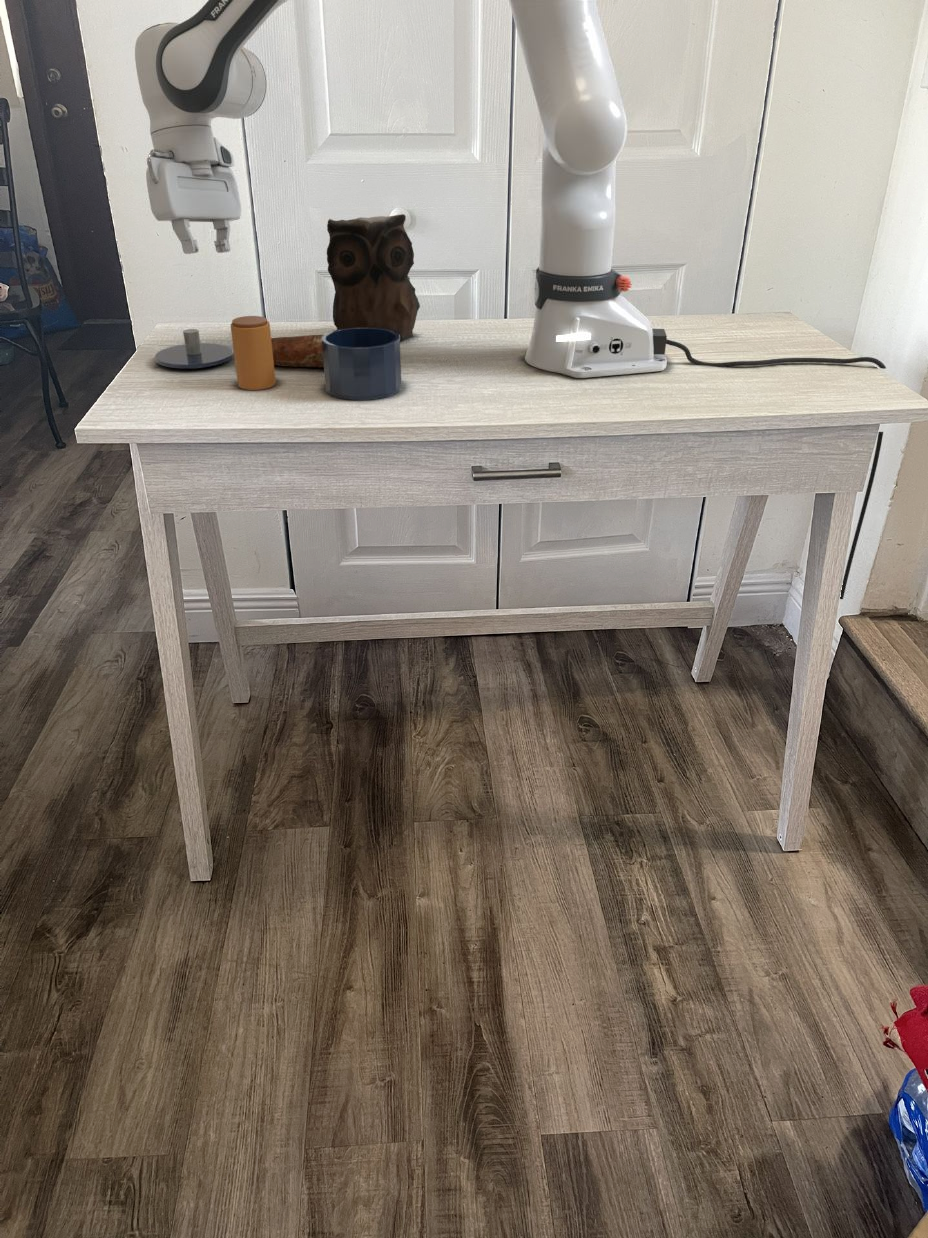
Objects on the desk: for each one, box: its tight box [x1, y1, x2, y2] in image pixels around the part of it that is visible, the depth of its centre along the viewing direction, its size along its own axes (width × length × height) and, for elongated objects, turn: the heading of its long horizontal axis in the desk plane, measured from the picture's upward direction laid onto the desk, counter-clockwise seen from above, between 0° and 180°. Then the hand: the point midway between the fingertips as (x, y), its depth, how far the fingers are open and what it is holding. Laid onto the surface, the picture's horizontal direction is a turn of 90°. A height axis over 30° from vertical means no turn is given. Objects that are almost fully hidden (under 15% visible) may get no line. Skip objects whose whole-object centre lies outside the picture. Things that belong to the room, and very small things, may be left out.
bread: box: [271, 333, 326, 369], centre depth 148 cm, size 6×19×6 cm, turn 80°
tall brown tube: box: [229, 315, 277, 391], centre depth 139 cm, size 6×6×10 cm
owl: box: [326, 213, 421, 342], centre depth 158 cm, size 13×13×20 cm
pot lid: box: [154, 328, 234, 370], centre depth 151 cm, size 12×12×5 cm
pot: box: [322, 327, 402, 401], centre depth 138 cm, size 11×11×8 cm
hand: (208, 252), depth 144 cm, fingers open, 8 cm apart
